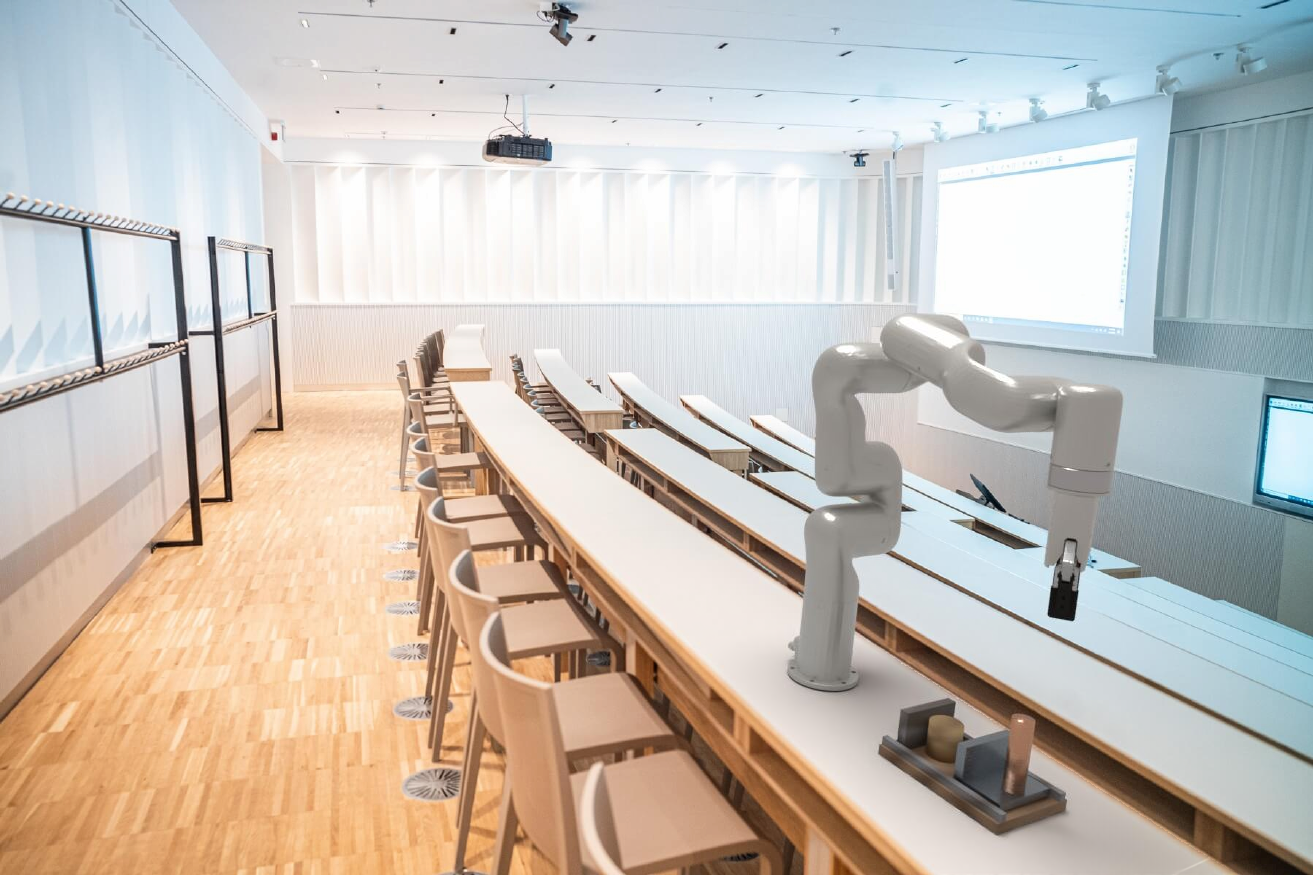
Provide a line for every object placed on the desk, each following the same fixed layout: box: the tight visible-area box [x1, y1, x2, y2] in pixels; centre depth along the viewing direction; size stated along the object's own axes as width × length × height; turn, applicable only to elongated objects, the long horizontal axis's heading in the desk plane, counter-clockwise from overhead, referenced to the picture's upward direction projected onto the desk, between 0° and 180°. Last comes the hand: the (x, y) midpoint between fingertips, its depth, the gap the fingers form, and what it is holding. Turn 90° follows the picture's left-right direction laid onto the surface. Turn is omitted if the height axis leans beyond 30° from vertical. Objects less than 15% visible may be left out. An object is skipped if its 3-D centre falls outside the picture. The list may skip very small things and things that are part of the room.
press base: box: [877, 697, 1068, 836], centre depth 131 cm, size 22×14×8 cm, turn 30°
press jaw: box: [953, 713, 1050, 811], centre depth 126 cm, size 8×10×12 cm
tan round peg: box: [925, 715, 965, 763], centre depth 135 cm, size 5×5×5 cm
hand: (1062, 607), depth 120 cm, fingers open, 9 cm apart
